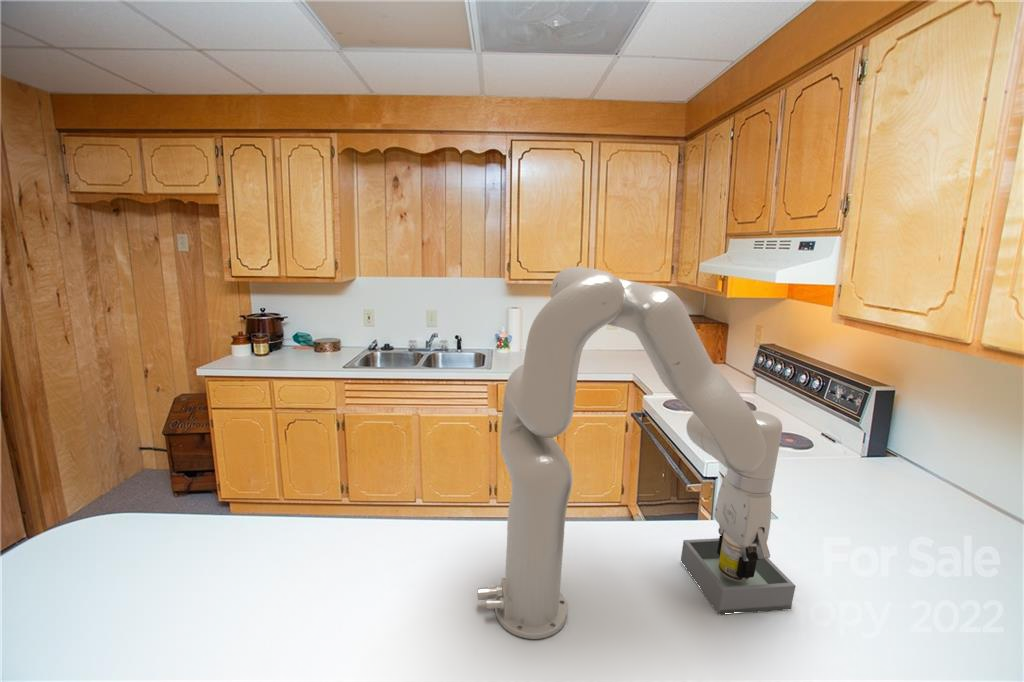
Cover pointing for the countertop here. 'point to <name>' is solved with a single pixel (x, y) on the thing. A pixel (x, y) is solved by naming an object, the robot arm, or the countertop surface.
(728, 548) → the supplement bottle
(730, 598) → the tray
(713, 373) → the robot arm
